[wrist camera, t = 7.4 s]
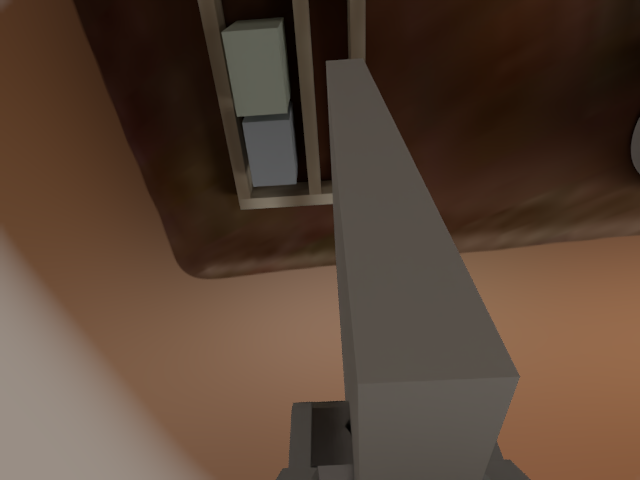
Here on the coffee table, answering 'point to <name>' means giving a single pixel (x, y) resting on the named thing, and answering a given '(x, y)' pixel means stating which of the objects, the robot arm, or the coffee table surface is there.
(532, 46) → the coffee table surface
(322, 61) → the coffee table surface
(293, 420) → the robot arm
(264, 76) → the sage offcut
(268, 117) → the slate offcut
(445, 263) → the tall board
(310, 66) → the birch rack
